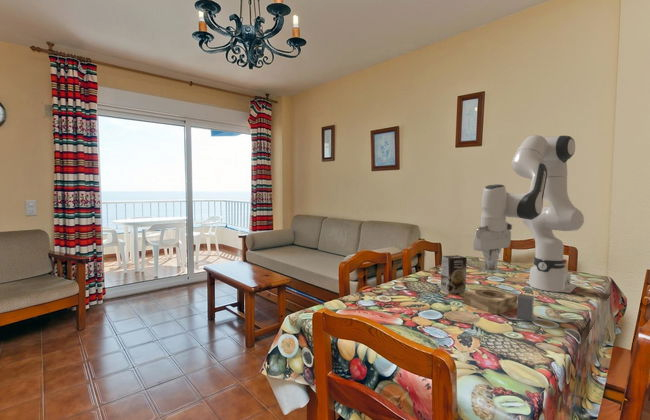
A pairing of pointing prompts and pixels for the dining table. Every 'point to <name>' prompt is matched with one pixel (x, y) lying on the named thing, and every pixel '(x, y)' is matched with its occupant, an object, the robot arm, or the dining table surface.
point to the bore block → (490, 300)
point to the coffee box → (453, 274)
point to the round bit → (492, 260)
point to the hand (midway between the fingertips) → (491, 260)
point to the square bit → (525, 307)
